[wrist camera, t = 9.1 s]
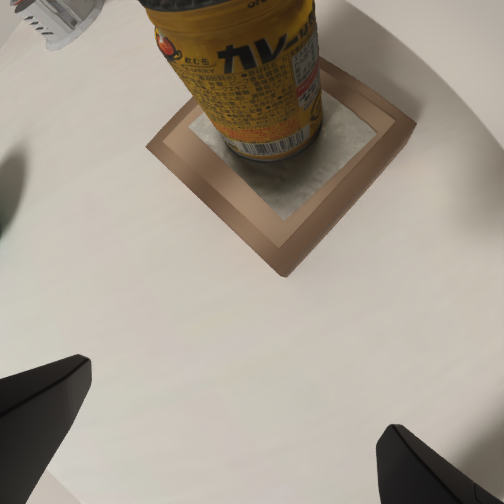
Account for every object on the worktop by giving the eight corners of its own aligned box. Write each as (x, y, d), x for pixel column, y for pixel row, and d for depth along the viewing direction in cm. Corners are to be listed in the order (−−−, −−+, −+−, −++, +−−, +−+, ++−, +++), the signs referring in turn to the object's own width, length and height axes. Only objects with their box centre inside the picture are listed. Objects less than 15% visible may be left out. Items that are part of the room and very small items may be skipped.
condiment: (273, 56, 18) (223, -98, 7) (377, 135, 16) (419, -43, 5) (189, 128, 19) (69, -1, 7) (284, 222, 17) (205, 96, 5)
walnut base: (406, 144, 19) (417, 121, 16) (286, 277, 20) (279, 275, 17) (275, 54, 22) (268, 27, 19) (165, 162, 23) (143, 145, 19)
